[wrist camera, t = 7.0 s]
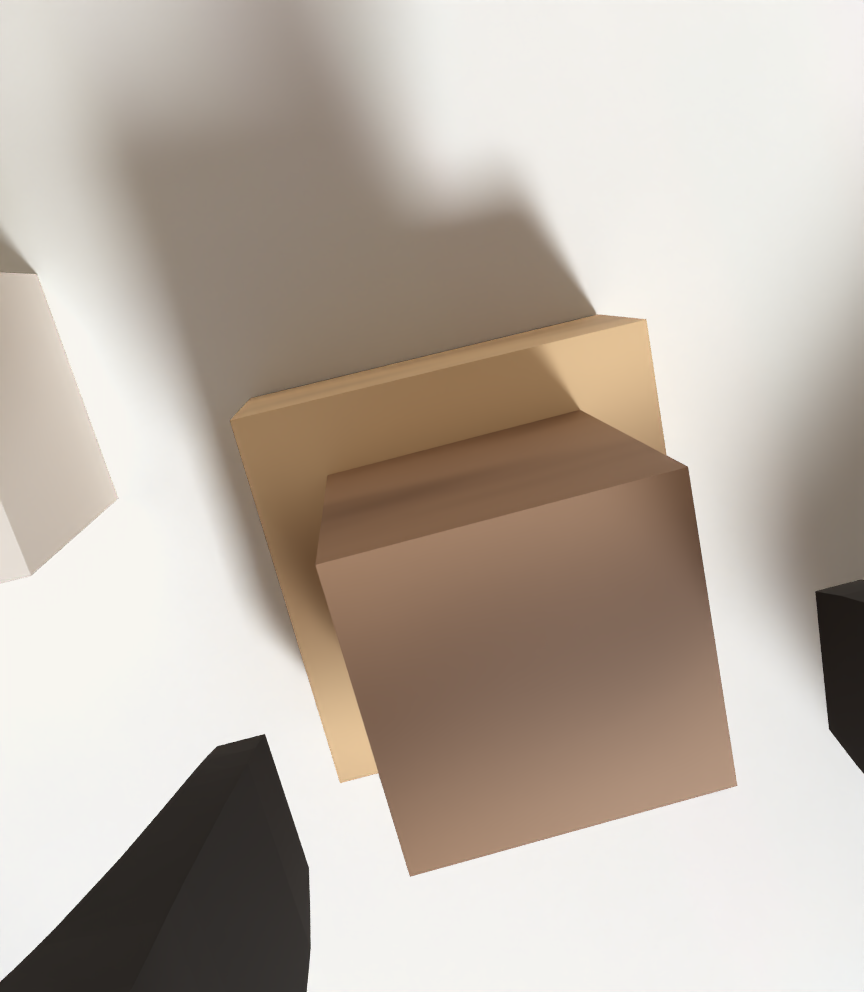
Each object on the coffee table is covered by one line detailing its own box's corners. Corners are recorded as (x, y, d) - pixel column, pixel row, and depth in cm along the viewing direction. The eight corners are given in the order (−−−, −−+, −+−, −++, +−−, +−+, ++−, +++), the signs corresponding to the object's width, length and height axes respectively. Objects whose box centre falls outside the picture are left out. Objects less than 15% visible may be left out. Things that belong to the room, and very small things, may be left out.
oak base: (650, 630, 20) (700, 689, 17) (342, 709, 19) (340, 783, 17) (597, 314, 18) (646, 319, 15) (250, 398, 17) (229, 420, 14)
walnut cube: (624, 639, 16) (737, 785, 12) (392, 701, 16) (410, 876, 11) (580, 409, 15) (688, 466, 10) (327, 475, 15) (315, 564, 10)
